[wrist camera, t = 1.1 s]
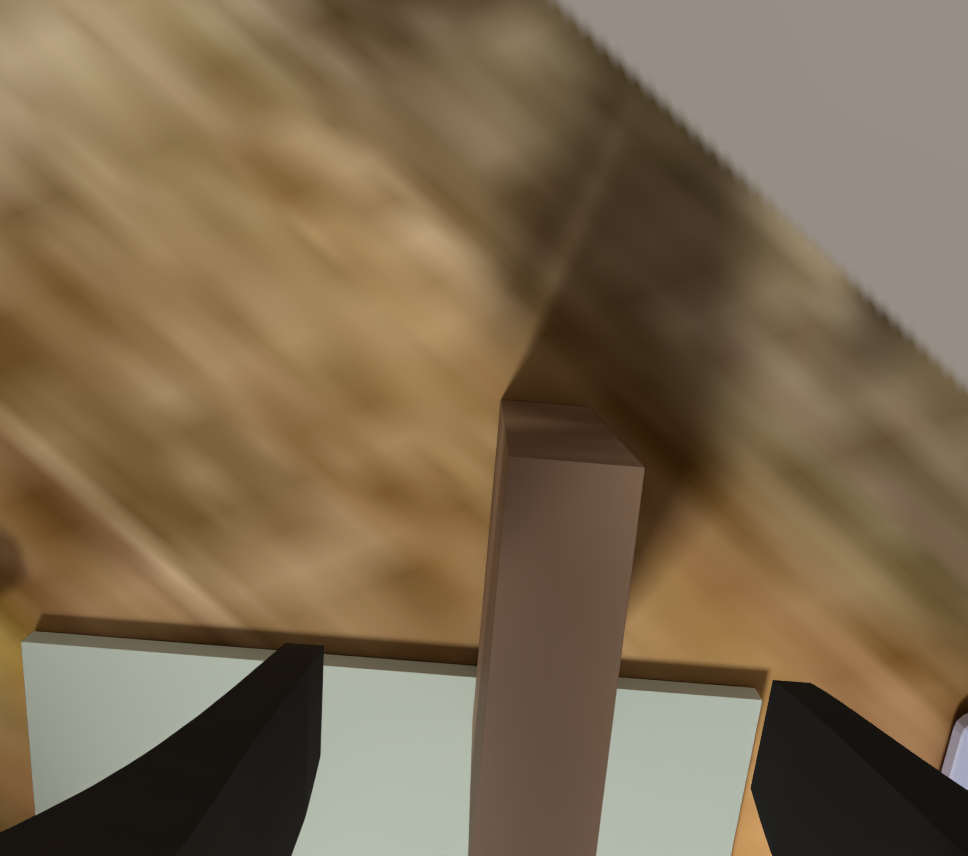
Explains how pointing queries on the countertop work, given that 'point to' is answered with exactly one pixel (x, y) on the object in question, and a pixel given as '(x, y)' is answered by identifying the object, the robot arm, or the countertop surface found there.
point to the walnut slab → (550, 630)
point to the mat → (390, 744)
